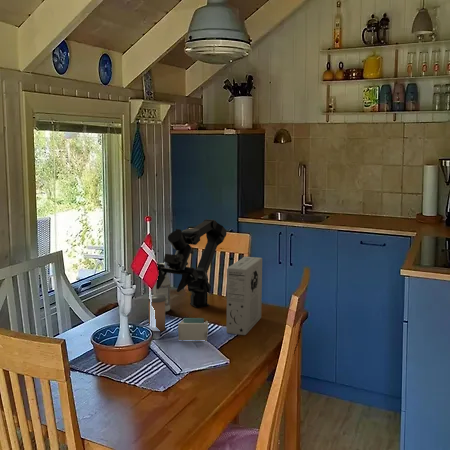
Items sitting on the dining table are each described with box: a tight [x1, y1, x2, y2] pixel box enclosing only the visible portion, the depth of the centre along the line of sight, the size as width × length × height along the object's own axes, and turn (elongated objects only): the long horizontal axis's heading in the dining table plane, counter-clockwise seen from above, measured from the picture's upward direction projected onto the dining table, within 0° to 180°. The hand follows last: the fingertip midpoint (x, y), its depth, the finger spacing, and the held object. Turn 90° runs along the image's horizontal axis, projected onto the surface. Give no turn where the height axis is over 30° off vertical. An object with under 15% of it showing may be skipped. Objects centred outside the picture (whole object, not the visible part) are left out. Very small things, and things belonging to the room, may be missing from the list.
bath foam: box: [152, 262, 171, 313], centre depth 231 cm, size 7×7×20 cm
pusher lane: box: [177, 320, 209, 342], centre depth 202 cm, size 12×10×6 cm
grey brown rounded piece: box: [147, 294, 166, 332], centre depth 208 cm, size 7×7×12 cm
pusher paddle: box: [183, 317, 205, 323], centre depth 202 cm, size 2×7×5 cm, turn 89°
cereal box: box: [226, 256, 263, 336], centre depth 212 cm, size 22×8×25 cm, turn 160°
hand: (167, 290), depth 214 cm, fingers open, 9 cm apart
